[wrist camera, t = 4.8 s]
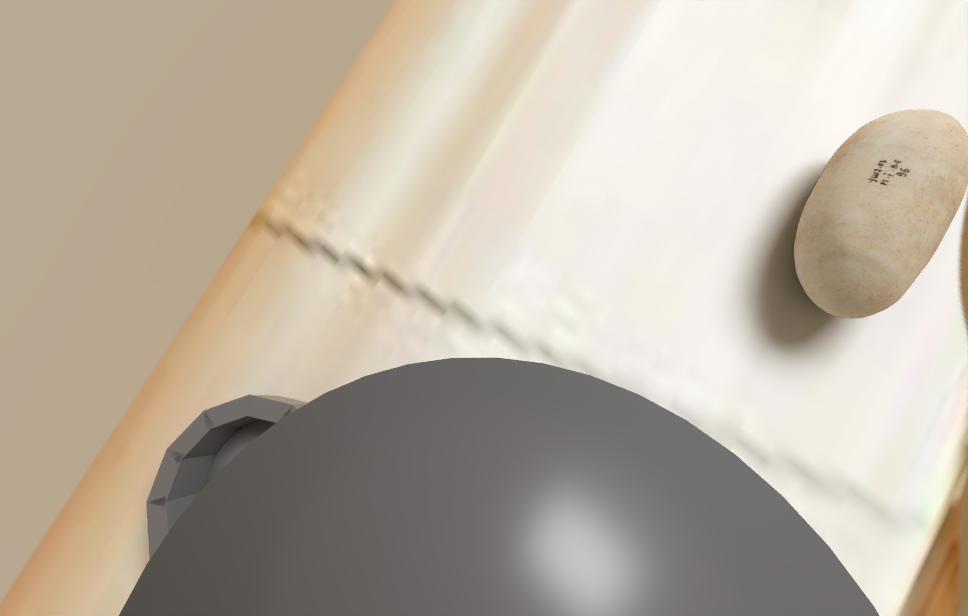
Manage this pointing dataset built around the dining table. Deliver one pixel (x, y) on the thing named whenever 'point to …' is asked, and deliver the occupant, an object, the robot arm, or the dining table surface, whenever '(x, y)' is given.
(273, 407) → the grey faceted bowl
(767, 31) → the dining table surface
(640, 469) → the dark grey banded cylinder
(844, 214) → the stone
